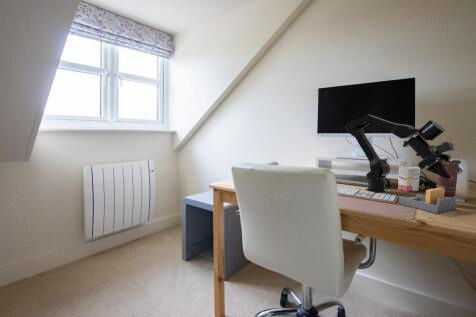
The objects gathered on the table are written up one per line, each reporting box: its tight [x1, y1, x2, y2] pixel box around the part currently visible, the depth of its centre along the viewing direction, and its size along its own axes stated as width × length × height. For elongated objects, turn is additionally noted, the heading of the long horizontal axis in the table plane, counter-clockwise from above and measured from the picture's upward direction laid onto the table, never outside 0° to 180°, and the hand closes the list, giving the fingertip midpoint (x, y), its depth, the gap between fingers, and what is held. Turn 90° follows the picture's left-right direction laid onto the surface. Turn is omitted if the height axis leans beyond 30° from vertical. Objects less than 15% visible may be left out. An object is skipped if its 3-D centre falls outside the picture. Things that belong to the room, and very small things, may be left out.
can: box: [436, 160, 460, 198], centre depth 102 cm, size 6×6×14 cm
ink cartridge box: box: [397, 160, 421, 193], centre depth 127 cm, size 9×5×15 cm, turn 111°
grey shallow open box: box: [398, 193, 457, 215], centre depth 100 cm, size 14×12×5 cm
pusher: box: [425, 188, 445, 205], centre depth 97 cm, size 2×9×7 cm, turn 114°
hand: (451, 177), depth 101 cm, fingers closed on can, 5 cm apart
